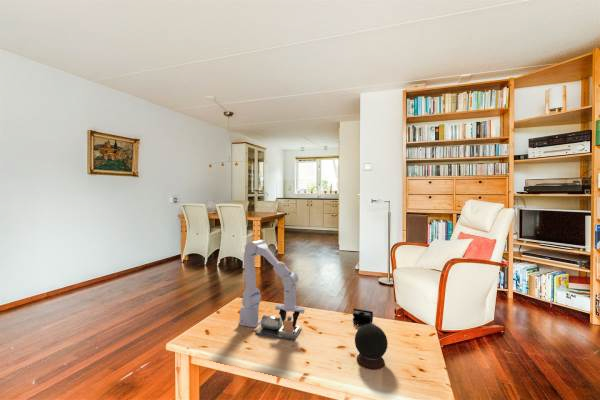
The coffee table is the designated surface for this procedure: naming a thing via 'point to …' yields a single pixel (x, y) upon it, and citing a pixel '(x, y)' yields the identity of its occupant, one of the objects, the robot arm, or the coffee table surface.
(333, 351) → the coffee table surface
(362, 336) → the black orb on pedestal
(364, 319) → the end cap
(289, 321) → the cube with grey knob
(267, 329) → the motor mount
